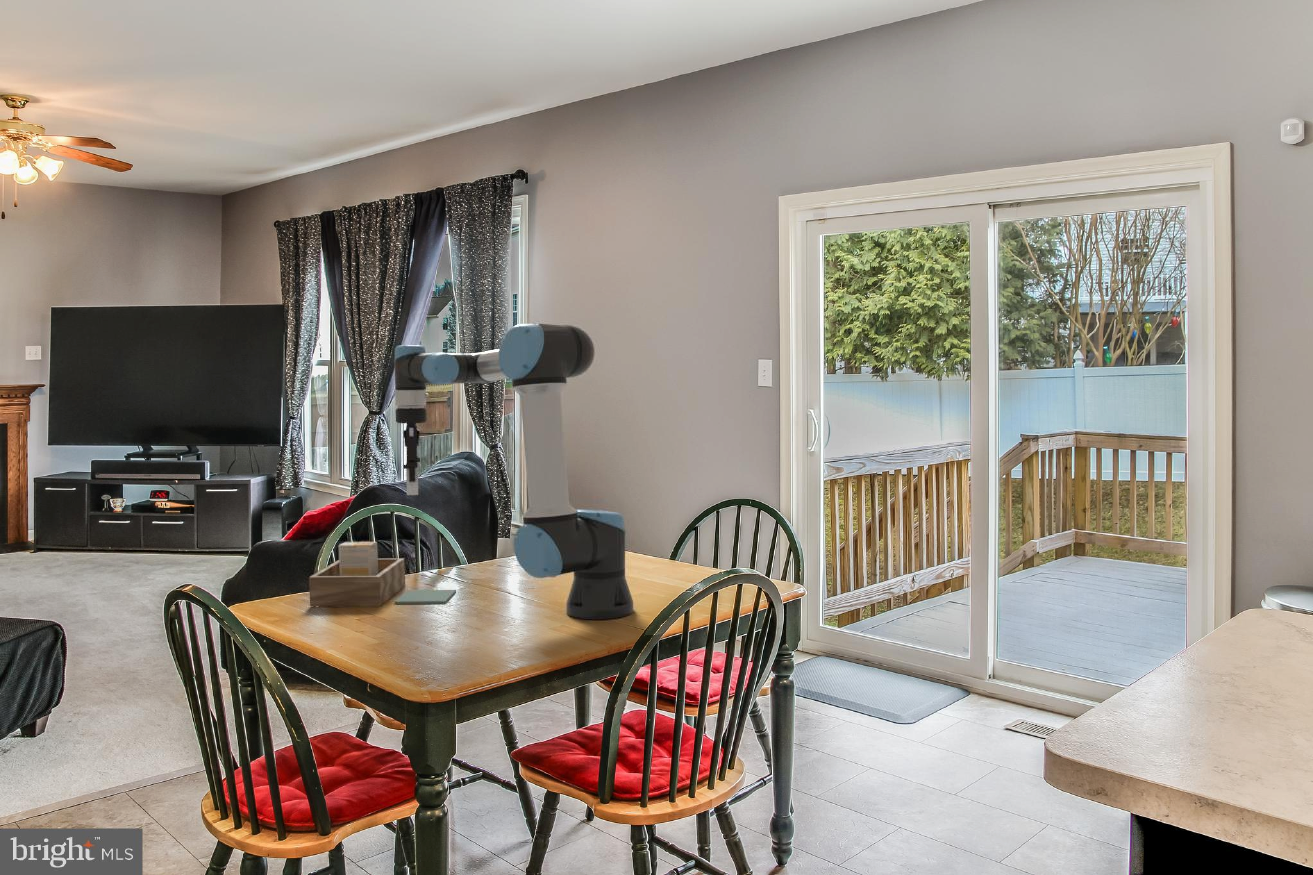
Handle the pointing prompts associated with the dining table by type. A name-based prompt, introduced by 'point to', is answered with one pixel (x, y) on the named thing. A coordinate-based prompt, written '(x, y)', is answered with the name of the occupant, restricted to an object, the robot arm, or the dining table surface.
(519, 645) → the dining table surface
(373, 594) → the crate
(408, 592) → the mat
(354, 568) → the supplement box
